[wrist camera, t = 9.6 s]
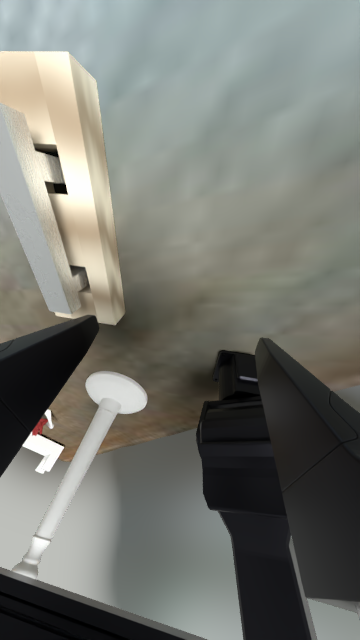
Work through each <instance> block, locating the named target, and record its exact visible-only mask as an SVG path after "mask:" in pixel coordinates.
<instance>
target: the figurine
mask: <svg viewBox="0 0 360 640" xmlns="http://www.w3.org/2000/svg"><path fill="white" fill-rule="evenodd" d="M45 415H46V416H47V418H46V416H45ZM48 421H49V422H48ZM45 424H46V425H47V426H48V427H49V428H50V429H51V428H53V426H54V425H53V426H52V421H51V410H49V409H47V411H46V412H45V414H44V415H43V416H42V418H41V419H40V421H39V422H38V424H37V425H36V426H35V428H34V429H33V431H32V436H33V435H35V436H37V434H38V431H40V434H42V429H43V425H45Z"/></svg>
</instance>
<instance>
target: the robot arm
mask: <svg viewBox="0 0 360 640" xmlns="http://www.w3.org/2000/svg"><path fill="white" fill-rule="evenodd" d="M98 331H99V325H98V321H97V318H96V316H95V315H89V314H88V315H85V316H82V317H79V318H76V319H73V320H70V321H67V322H64V323H61V324H58V325H55V326H52V327H49V328H46V329H43V330H40V331H37V332H34V333H31V334H28V335H25V336H22V337H19V338H16V339H15V340H14V339H13V340H10V341H7V342H4V343H1V344H0V477H1V475H2V474H3V473H4V471H5V470H6V468H7V467H8V465H9V464H10V463H11V461H12V460H13V458H14V457H15V455H16V454H17V453H18V451H19V450H20V448H21V447H22V445H23V444H24V443H25V441H26V440H27V438H28V437H29V435H30V434H31V432H32V431H33V429H34V428H35V426H36V425H37V424H38V422H39V421H40V419H41V418H42V416H43V415H44V414H45V412H46V411H47V409H48V408H49V406H50V405H51V403H52V402H53V401H54V399H55V398H56V396H57V395H58V393H59V392H60V390H61V389H62V388H63V386H64V385H65V383H66V382H67V380H68V379H69V378H70V376H71V375H72V373H73V372H74V370H75V369H76V367H77V366H78V365H79V363H80V362H81V360H82V359H83V357H84V356H85V354H86V353H87V351H88V349H89V348H90V346H91V344H92V342H93V340H94V339H95V337H96V335H97V333H98ZM213 381H215V382H219V401H210V402H209V401H204V405H203V408H202V412H201V416H200V420H199V424H198V428H197V433H196V437H197V438H196V441H197V445H198V450H199V454H200V457H201V459H202V468H203V494H204V497H205V500H206V502H207V505H208V508H209V509H210V510H215V511H218V512H219V514H220V516H221V518H222V520H223V522H224V524H225V526H226V528H227V530H228V532H229V534H230V536H231V541H232V548H233V556H234V565H235V572H236V581H237V589H238V598H239V606H240V614H241V623H242V630H243V639H244V640H317V636H316V633H315V629H314V625H313V621H312V617H311V613H310V609H309V605H308V601H307V598H309V599H312V600H315V601H319V602H322V603H326V604H329V605H332V606H335V607H339V608H342V609H345V610H349V611H352V612H355V613H358V616H359V619H360V413H359V412H358V411H356V410H355V409H354V408H353V407H351V406H350V405H349V404H348V403H346V402H345V401H344V400H343V399H341V398H340V397H339V396H338V395H337V394H335V393H334V392H333V391H330V389H329V388H328V387H327V386H326V385H324V384H323V383H322V382H321V381H320V380H318V379H317V378H316V377H315V376H314V375H312V374H311V373H310V372H309V371H308V370H306V369H305V368H304V367H303V366H302V365H300V364H299V363H298V362H297V361H296V360H294V359H293V358H292V357H291V356H290V355H288V354H287V353H286V352H285V351H284V350H282V349H281V348H280V347H279V346H278V345H276V344H275V343H274V342H273V341H272V340H270V339H269V338H260V339H259V342H258V345H257V347H256V350H255V356H253V355H247V354H241V353H235V352H229V351H220V353H219V357H218V360H217V364H216V368H215V371H214V375H213ZM291 536H292V538H291ZM292 541H293V542H292ZM293 545H294V546H293ZM0 640H207V639H204V638H201V637H199V636H196V635H193V634H190V633H187V632H184V631H182V630H178V629H176V628H173V627H170V626H167V625H164V624H162V623H158V622H156V621H153V620H150V619H147V618H144V617H141V616H139V615H136V614H133V613H130V612H127V611H124V610H121V609H119V608H116V607H113V606H110V605H107V604H104V603H101V602H99V601H96V600H93V599H90V598H87V597H84V596H81V595H79V594H76V593H73V592H70V591H67V590H64V589H61V588H59V587H56V586H53V585H50V584H47V583H44V582H41V581H39V580H36V579H33V578H30V577H27V576H24V575H22V574H19V573H16V572H13V571H10V570H7V569H4V568H2V567H0Z"/></svg>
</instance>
